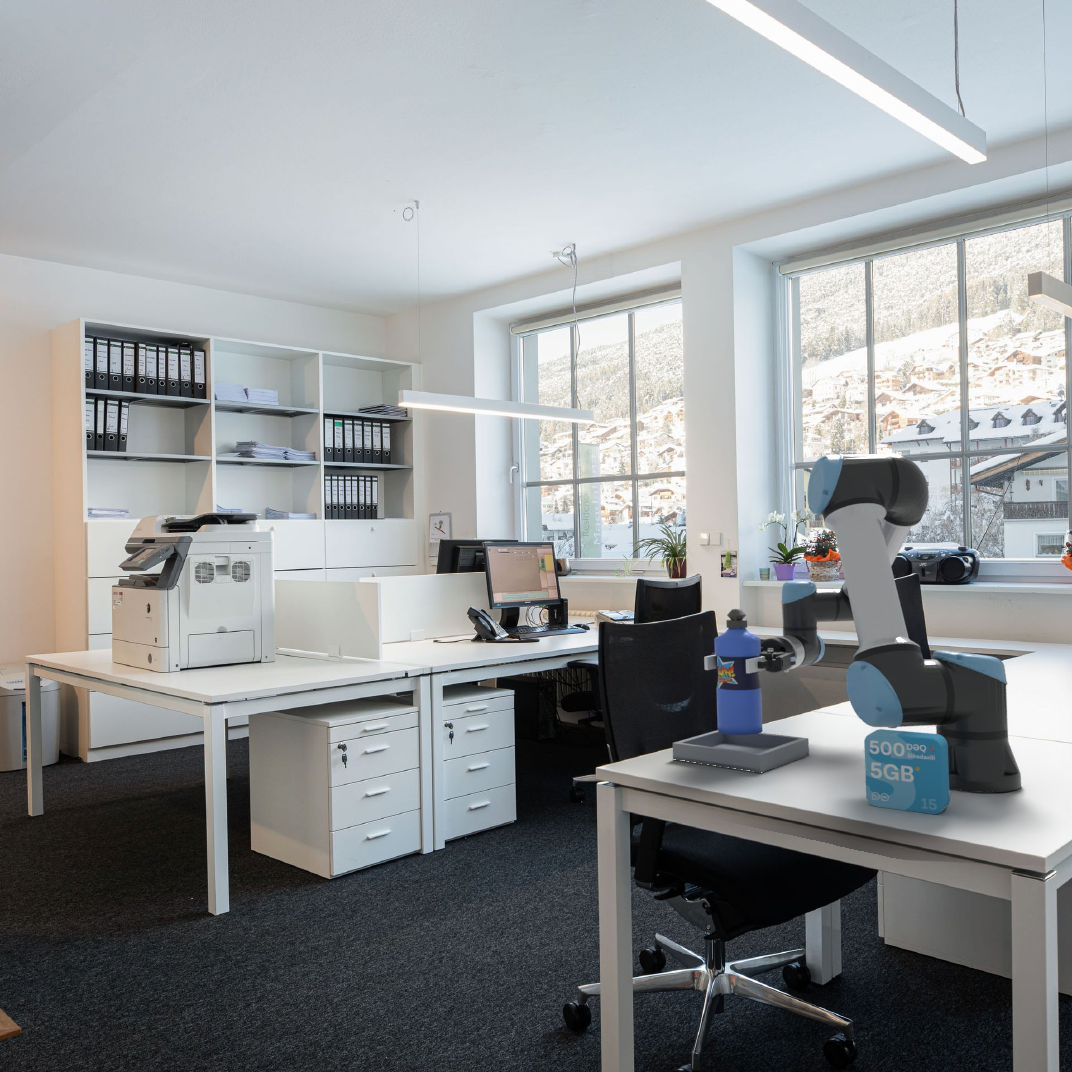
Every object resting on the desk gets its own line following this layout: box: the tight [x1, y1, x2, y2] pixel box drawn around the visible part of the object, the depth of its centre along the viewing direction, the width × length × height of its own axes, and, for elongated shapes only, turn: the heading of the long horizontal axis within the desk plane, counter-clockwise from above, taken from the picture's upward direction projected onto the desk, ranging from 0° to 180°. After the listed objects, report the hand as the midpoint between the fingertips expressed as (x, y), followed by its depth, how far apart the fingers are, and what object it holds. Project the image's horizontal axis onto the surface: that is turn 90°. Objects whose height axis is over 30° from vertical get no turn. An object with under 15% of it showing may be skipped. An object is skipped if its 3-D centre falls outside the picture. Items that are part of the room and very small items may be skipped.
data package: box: [863, 728, 951, 815], centre depth 151 cm, size 12×4×12 cm, turn 54°
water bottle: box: [713, 608, 763, 735], centre depth 191 cm, size 9×9×25 cm
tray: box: [672, 729, 810, 774], centre depth 190 cm, size 20×20×4 cm
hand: (726, 664), depth 188 cm, fingers closed on water bottle, 9 cm apart
